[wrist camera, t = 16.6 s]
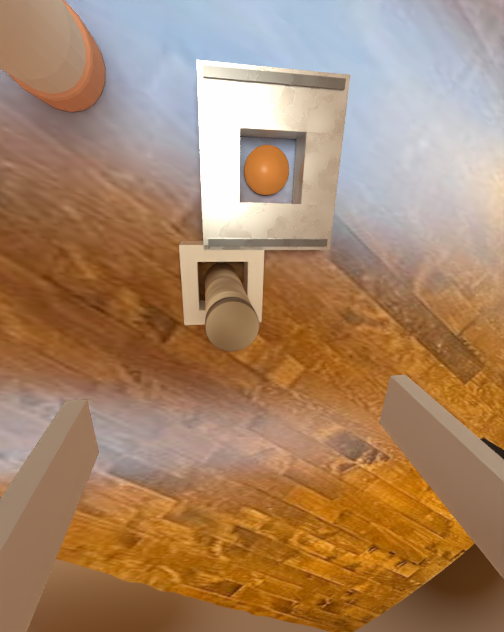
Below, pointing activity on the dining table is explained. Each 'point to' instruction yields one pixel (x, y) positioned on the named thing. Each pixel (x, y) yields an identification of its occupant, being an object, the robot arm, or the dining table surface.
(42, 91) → the salt shaker
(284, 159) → the button
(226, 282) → the brown wooden cylinder
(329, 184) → the grey square frame
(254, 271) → the holder
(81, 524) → the dining table surface
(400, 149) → the dining table surface
